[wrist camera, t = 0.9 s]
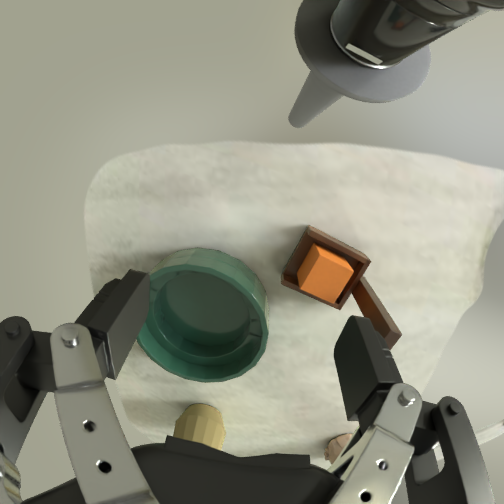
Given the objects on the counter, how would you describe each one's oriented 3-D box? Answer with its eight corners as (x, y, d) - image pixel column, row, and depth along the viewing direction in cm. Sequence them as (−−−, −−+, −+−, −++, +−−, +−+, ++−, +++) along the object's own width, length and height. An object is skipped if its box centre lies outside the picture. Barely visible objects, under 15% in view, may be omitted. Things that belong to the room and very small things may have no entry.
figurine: (366, 447, 44) (384, 529, 25) (326, 458, 45) (334, 541, 26) (365, 426, 41) (386, 519, 23) (319, 438, 43) (328, 533, 24)
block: (344, 257, 31) (354, 271, 27) (327, 287, 32) (333, 304, 28) (314, 241, 31) (319, 254, 27) (296, 273, 32) (299, 289, 28)
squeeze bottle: (236, 409, 41) (222, 508, 24) (218, 432, 43) (202, 519, 26) (188, 391, 40) (157, 489, 23) (175, 416, 43) (147, 502, 26)
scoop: (374, 259, 31) (419, 311, 20) (345, 305, 34) (373, 370, 22) (308, 224, 31) (329, 267, 19) (280, 275, 33) (284, 338, 21)
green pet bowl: (168, 224, 32) (150, 239, 26) (290, 281, 33) (294, 305, 28) (136, 324, 36) (119, 347, 31) (237, 369, 38) (233, 397, 33)
